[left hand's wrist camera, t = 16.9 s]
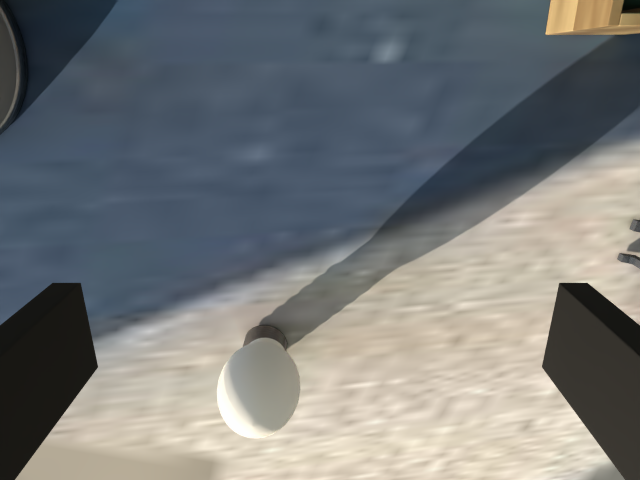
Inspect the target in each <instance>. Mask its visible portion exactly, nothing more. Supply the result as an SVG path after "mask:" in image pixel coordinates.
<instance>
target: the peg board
mask: <svg viewBox="0 0 640 480" xmlns="http://www.w3.org/2000/svg"><path fill="white" fill-rule="evenodd" d="M623 3H624V0H551V3H550V10H549V16H548V22H547V29H546V35H625V34H635V33H640V8H636V9H630V10H622V7H623Z"/></svg>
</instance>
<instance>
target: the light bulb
mask: <svg viewBox="0 0 640 480" xmlns="http://www.w3.org/2000/svg"><path fill="white" fill-rule="evenodd" d="M286 349H287V341H286V339H285V337H284V335H283V334H282V333H281V332H280V331H279V330H277V329H275V328H273V327H270V326H264V325H262V326H256V327H254V328H252V329H251V330H249V331H248V333H247V334H246V337H245V341H244V344H243V347H242V348H241V349H239V350H238V351H236V352H235V353H234V354H233V355H232V356H231V357H230V359H229V360H228V361H227V363H226V364H225V366H224V368H223V370H222V372H221V375H220V378H219V382H218V388H217V400H218V406H219V410H220V413H221V415H222V417H223V419H224V420H225V422H226V423H227V425H228V426H229V427H230V428H231V429H232V430H233V431H235V432H236V433H238V434H240V435H242V436H244V437H248V438H263V437H267V436H270V435H272V434H274V433H275V432H277V431H278V430H280V429H281V428H282V427H283V426H284V425H285V424H286V423H287V422H288V420H289V419H290V418H291V416H292V415H293V413H294V411H295V408H296V406H297V404H298V399H299V394H300V376H299V373H298V370H297V367H296V364H295V362H294V361H293V359H292V358H291V356H290V355H289V354H288V353H287V352H286Z"/></svg>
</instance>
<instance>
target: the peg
mask: <svg viewBox="0 0 640 480" xmlns="http://www.w3.org/2000/svg"><path fill="white" fill-rule="evenodd" d="M636 8H640V0H624V3H623V7H622V10H630V9H636Z"/></svg>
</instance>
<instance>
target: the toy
mask: <svg viewBox="0 0 640 480" xmlns="http://www.w3.org/2000/svg"><path fill="white" fill-rule="evenodd" d="M630 229H631V230H633V231H636V232H640V220H634V219H633V222H632V224H631V226H630ZM618 260H619V261H621V262H625V263H630V264H633V265H635V266H636V267H638V268H640V258H639V257H637V256H636V255H629V254H622V253H620V254H619V256H618Z"/></svg>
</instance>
